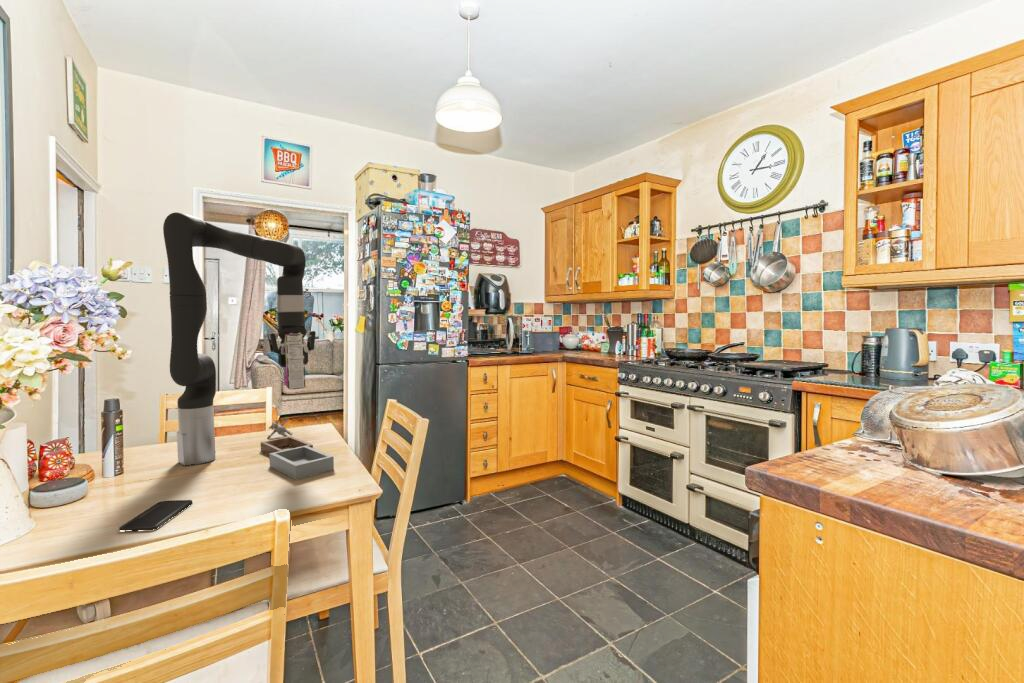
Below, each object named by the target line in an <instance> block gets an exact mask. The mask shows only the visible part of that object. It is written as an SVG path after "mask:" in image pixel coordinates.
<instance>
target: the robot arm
mask: <svg viewBox="0 0 1024 683" xmlns="http://www.w3.org/2000/svg"><path fill="white" fill-rule="evenodd" d="M162 227H163V228H162V230H163V240H164V246H165V251H166V258H167V266H168V279H169V309H170V323H171V324H170V326H171V334H170V335H171V341H170V342H171V343H170V354H169V355H170V357H169V374H170V377H171V379H172V381H173V382H174V383H175V384H176V385H178V386H180V387H185V389H184V391H183V392H182V394H181V395H180V396H179V398H177V418H178V420H177V421H178V422H177V423H178V431H177V432H176V438H177V439H176V445H177V461H178V463H179V462H180V463H179V464H181V465H182V466H183V465H184V466H185V465H186V466H192V465H191V464H195V465H201V463H202V464H206V463H209V462H212V461H214V460H215V459H216V458H217V456H216V452H217V451H216V436H215V435H216V433H215V414H214V413H215V412H214V408H215V407H214V399H215V395H216V391H217V382H216V381H217V370H216V365H215V362H214V360H213V358H212V357H210V356H209V354H208V355H207V354H205V353H198V352H199V351H198V340H199V339H198V338H199V335H200V332H201V329H202V327H203V324H204V321H205V320H206V319H205V318H206V316H207V312H208V305H207V304H208V303H207V299H208V298H207V289H206V286H205V284H204V281H203V280H202V277H201V276H200V274H199V271H198V270H197V267H196V265H195V262H194V261H195V260H194V256H193V255H194V254H193V253H194V252H193V248H194V247H200V248H211V249H212V248H213V249H218V250H223V251H227V252H230V253H233V254H235V255H238V256H241V257H244V258H249V259H252V260H256V261H262V262H267V263H269V264H272V265H275V266H279V267H282V274H281V276H279V277H277V281H276V286H277V288H276V292H277V293H276V294H277V302H276V307H277V309H276V310H277V311H276V312H277V327H278V329H277V330H276V332H268V333H267V334H266V335H267V340H268V344H269V348H270V352H271V354H272V353H274V354H276V355H277V361H278V366H280V367H281V368H284V367H286V357H285V355H284V353H285V343H284V341H285V334H303V344H304V365H305V366H306V365H308V362H309V352H311V351H314V349H315V343H316V342H315V341H316V331H315V330H307V329H306V313H305V312H306V311H305V310H306V308H305V300H304V288H303V285H304V284H303V280H304V276H305V270H306V254H305V252H304V250H303V249H302V247H300V246H298V245H296V244H292V243H288V242H283V241H280V240H279V241H278V240H273V239H269V238H266V237H264V236H259V235H255V234H251V233H247V232H240V231H235V230H231V229H230V230H229V229H226V228H223V227H220V226H217V225H214V224H212V223H210V222H207V221H205V220H204V219H202V218H200V217H197V216H195V215H191V214H187V213H183V212H171V213H169V214H168V215H167V216H166V218H165V219H164V222H163V224H162ZM278 337H279V339H280V342H279V344H278V341H277V340H278ZM305 337H307V341H305V339H304V338H305ZM205 462H206V463H205ZM186 466H185V467H186Z"/></svg>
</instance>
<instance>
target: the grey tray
mask: <svg viewBox="0 0 1024 683" xmlns="http://www.w3.org/2000/svg"><path fill="white" fill-rule="evenodd" d="M282 450H283V451H278V452H274V453H269V455H268V456H269V467H270V468H272V469H274V470H275V471H277V472H279V471H280V472H279V473H281V472H282V473H281V474H283V473H284V475H285V474H286V475H285V476H287V475H288V476H287V477H289V476H290V478H291V477H292V478H291V479H293V478H294V479H293V480H295V479H298V480H301V478H302V479H304V477H305V478H309V477H312V476H311V475H313V476H316V475H315V474H317V475H320V474H323V473H322V472H324V473H327V472H326V471H328V472H330V470H331V471H334V470H335V465H334V464H335V463H334V459H335V458H334V455H331V454H328V453H326V452H323V451H320V450H318V449H316V448H314V447H313V448H311V447H309V446H301V447H297V448H294V447H291V448H288V449H282ZM319 473H320V474H319ZM308 476H309V477H308Z"/></svg>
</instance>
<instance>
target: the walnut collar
mask: <svg viewBox="0 0 1024 683" xmlns="http://www.w3.org/2000/svg"><path fill="white" fill-rule="evenodd" d="M288 436H289V437H284V436H283V437H279V438H275V439H270V440H269V439H268V440H265V441H260V451H261V453H264V454H266V455H268V454H269V453H274V452H278V451H283V450H284V449H281V448H284V447H283V446H286V447H288V446H287V445H291V446H293V447H292V448H294V447H295V448H297V447H301V446H309V447H311V448H314V446H313V445H314V444H311V443H309V442H307V441H304V440H301V439H299V438H296V437H294V436H293V435H292V436H291V435H288ZM291 446H290V447H291ZM279 447H281V448H279Z"/></svg>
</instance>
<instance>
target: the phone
mask: <svg viewBox="0 0 1024 683" xmlns="http://www.w3.org/2000/svg"><path fill="white" fill-rule="evenodd" d="M191 504H192V505H193V500H192V499H182V500H181V499H179V500H163V501H159V502H157V503H155V504H154V505H152V506H151V507H149V508H147V509H146V510H144V511H143V512H141V513H139V514H138V515H136V516H135V517H133V518H131V519H130V520H128V521H127V522H125V523H124V524H122V525H120V526H119V527H118V531H119V530H133V531H137V530H153V529H157V528H158V527H160V526H161V525H163V524H164V523H165V522H167V521H168V520H169V519H171V518H172V517H174V516H176V515H177V514H178V513H179V512H181V511H182V510H184V509H185V508H186V509H188V508H189V507H190V506H189V505H191ZM192 505H191V506H192ZM188 506H189V507H188ZM187 507H188V508H187ZM186 509H185V510H186ZM185 510H184V511H185ZM182 512H183V511H182ZM182 512H181V513H182ZM178 515H179V514H178ZM178 515H177V516H178ZM174 518H175V517H174ZM171 520H172V519H171ZM167 523H168V522H167ZM163 526H164V525H163ZM160 528H161V527H160ZM157 530H158V529H157Z"/></svg>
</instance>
